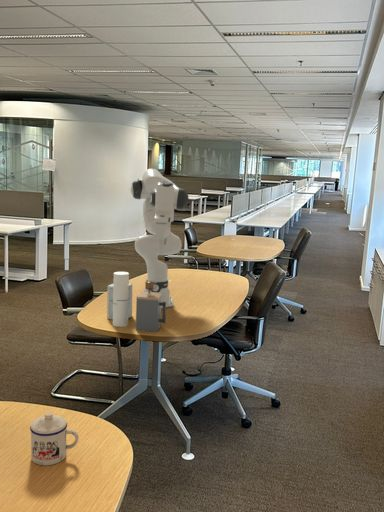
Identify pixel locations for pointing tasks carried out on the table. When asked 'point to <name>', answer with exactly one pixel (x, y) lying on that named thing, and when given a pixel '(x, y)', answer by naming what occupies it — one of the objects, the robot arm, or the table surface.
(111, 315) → the supplement box
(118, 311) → the cylindrical container
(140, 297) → the press jug
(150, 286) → the plunger
